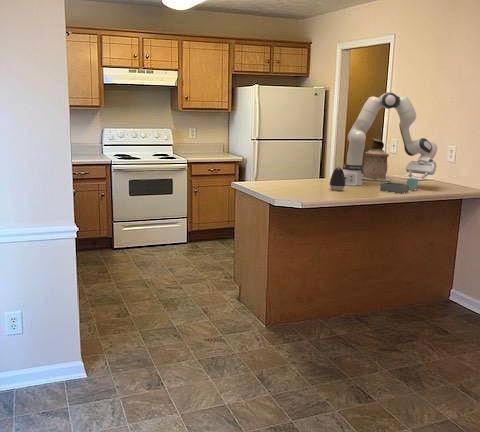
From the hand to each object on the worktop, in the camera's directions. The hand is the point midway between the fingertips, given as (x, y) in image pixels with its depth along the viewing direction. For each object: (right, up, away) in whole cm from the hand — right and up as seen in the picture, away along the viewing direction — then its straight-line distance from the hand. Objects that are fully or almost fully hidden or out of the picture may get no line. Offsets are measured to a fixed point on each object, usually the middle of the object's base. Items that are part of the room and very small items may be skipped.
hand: (416, 177), depth 361 cm
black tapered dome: (-58, -10, -15) cm, 61 cm away
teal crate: (-4, -9, -2) cm, 10 cm away
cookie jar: (-16, +2, +50) cm, 53 cm away
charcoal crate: (-18, -10, -11) cm, 24 cm away
